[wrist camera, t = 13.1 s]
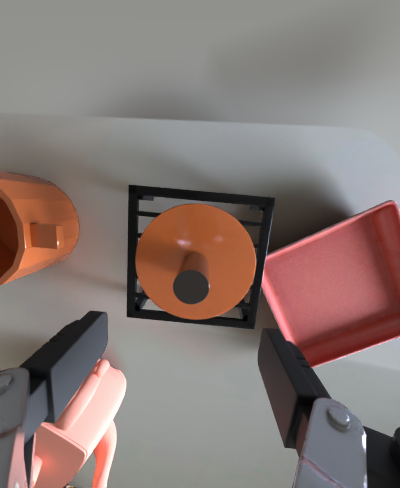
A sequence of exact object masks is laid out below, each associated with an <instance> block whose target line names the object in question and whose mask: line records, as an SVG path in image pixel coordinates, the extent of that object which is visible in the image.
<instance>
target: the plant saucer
mask: <svg viewBox="0 0 400 488" xmlns="http://www.w3.org/2000/svg"><path fill="white" fill-rule="evenodd" d="M261 289H262V292H263V294H264V296H265V298H266V300H267V303H268V305H269V307H270V309H271V311H272V313H273V316H274V318H275V320H276V322H277V324H278V327H279V329H280V331H281V333H282V334H283V336H284V338H285V339H286V341H291V342H292V343H293V344H295V345H296V346H297V347H298V348H299V349H300V350H301V352H302V353H303V355H304V356H305V358H306V360H307V361H308V363H309V364H310V366H311V368H314V367H317V366H320V365H323V364H325V363H328V362H331V361H334V360H337V359H340V358H342V357H345V356H348V355H351V354H354V353H356V352H359V351H362V350H365V349H368V348H370V347H374V346H376V345H379V344H382V343H385V342H388V341H390V340H393V339H396V338H399V337H400V210H399V207H398V204H397V203H396V202H395V201H392V200H389V201H386V202H384V203H381V204H379V205H377V206H375V207H372V208H370V209H368V210H366V211H363V212H361V213H359V214H357V215H355V216H352V217H350V218H348V219H346V220H343V221H341V222H339V223H337V224H334V225H332V226H330V227H328V228H325V229H323V230H321V231H318V232H316V233H314V234H312V235H309V236H307V237H305V238H303V239H300V240H298V241H296V242H294V243H291V244H289V245H287V246H284V247H282V248H280V249H278V250H275V251H273V252H271V253H268V254H266V260H265V266H264V272H263V279H262V285H261Z"/></svg>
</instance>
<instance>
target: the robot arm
mask: <svg viewBox="0 0 400 488" xmlns="http://www.w3.org/2000/svg"><path fill="white" fill-rule="evenodd" d="M107 341H108V317H107V313H106V312H100V311H89V312H88V313H87V314H86V315H85V316H84V317H83V318H82V319H80V320H76V321H74V322H72V323H70V324H68V325H66V326H65V327H64V328H63V329H61V330H60V331H59V332H58V333H57V335H55V336H53V337H52V338H51V339H50V340H49V342H47V343H46V344H44V345H43V346H42V347H41V348H40V349H39V350H38V351H36V352H35V353H34V354H33V355H32V356H31V357H30V358H28V359H27V360H26V361H25V362H24V363H23V364H22V365H20V366H19V367H18V368H10V369H6V370H3V371H0V488H32V481H33V468H34V455H35V442H36V430H37V429H38V428H39V426H40V425H41V424H42V422H46V423H56V421H57V420H58V418H59V417H60V415H61V414H62V412H63V411H64V409H65V408H66V407H67V405H68V404H69V402H70V401H71V399H72V398H73V396H74V395H75V393H76V392H77V390H78V389H79V387H80V386H81V385H82V383H83V382H84V380H85V379H86V377H87V376H88V374H89V373H90V371H91V370H92V368H93V367H94V365H95V364H96V363H97V361H98V360H99V358H100V357H101V355H102V354H103V352H104V350H105V348H106V345H107ZM258 366H259V370H260V373H261V376H262V379H263V382H264V385H265V388H266V391H267V394H268V397H269V400H270V404H271V407H272V410H273V413H274V416H275V419H276V422H277V425H278V428H279V431H280V434H281V437H282V441H283V444H284V447H285V448H293V449H296V450H297V453H298V456H299V461H298V465H297V469H296V473H295V478H294V482H293V486H292V488H400V427H399V428H397V429H396V431H395V433H394V436H393V437H390V436H388V435H385V434H383V433H380V432H378V431H375V430H372V429H370V428H367V427H365V426H363V425H362V424H361V422H360V421H359V419H358V418H357V417H356V416H355V415H354V414H353V413H352V412H351V411H350V410H349V409H348V408H347V407H345V406H344V405H342V404H341V403H339V402H337V401H335V400H333V399H332V398H331V397H330V395H329V394H328V392H327V391H326V389H325V387H324V386H323V384H322V383H321V381H320V380H319V378H318V377H317V375H316V374H315V372H314V370H313V369H312V368H311V366H310V364H309V363H308V361H307V360H306V358H305V356H304V355H303V353H302V352H301V350H300V349H299V348H298V347H297V346H296V345H295V344H293V343H292V342H291V341H286V339H285V338H284V336H283V334H282V333H281V331H280V330H279V329H273V328H263V329H262V333H261V339H260V345H259V350H258ZM73 488H74V487H73Z"/></svg>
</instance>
